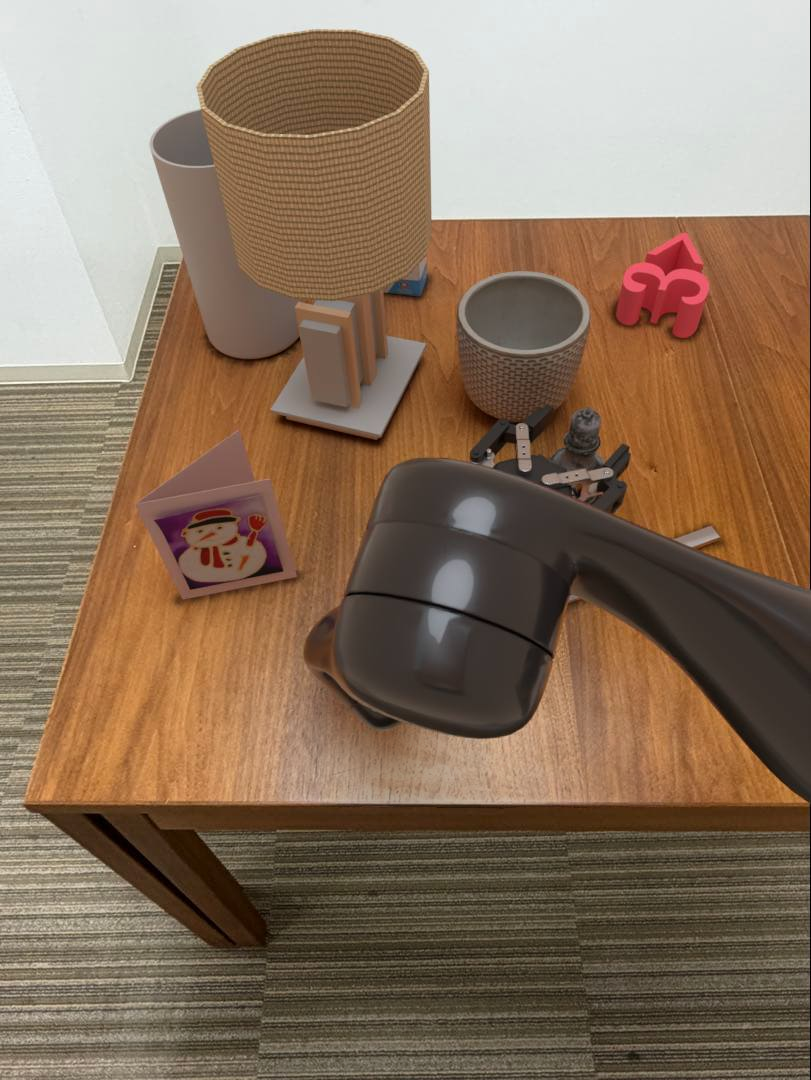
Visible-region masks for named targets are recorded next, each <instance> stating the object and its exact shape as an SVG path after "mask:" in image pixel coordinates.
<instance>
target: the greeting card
mask: <svg viewBox="0 0 811 1080" xmlns="http://www.w3.org/2000/svg"><path fill="white" fill-rule="evenodd" d="M275 494H276V493H275V491H274V487H273V484H272V481H271V478H266V479H261V480H255V476H254V474H253V470H252V467H251V463H250V460H249V456H248V454H247V449H246V446H245V443H244V440H243V436H242V434H241V430H240V428H238V429H237V430H236V431H234V432H233V433H231V434H230V435H229V436H227V437H226V438H224V440H222V441H220V442H219V443H217V445H215V446H213V447H212V448H211V449H209V450H208V451H207V452H205V453H203V455H201V456H199V457H198V458H197V459H196V460H194V461H193V462H191V463H189V464H188V465H187V466H185V467H184V468H183V469H181V470H180V471H178V472H177V473H176V474H174V475H173V476H172V477H170V478H169V479H167V480H166V481H164V482H163V483H161V484H159V486H158V487H156V488H155V489H154V490H152V491H151V492H149V493H148V494H146V495H145V496H144V497H142V498H141V499H140V500H138V501H137V502H135V503H134V506H135V508H136V510H137V512H138V514H139V516H140V519H141V520H142V522H143V524H144V526H145V528H146V530H147V532H148V534H149V536H150V538H151V540H152V542H153V544H154V545H155V548H156V550H157V552H158V554H159V556H160V558H161V560H162V561H163V564H164V565H165V568H166V570H167V571H168V574H169V576H170V577H171V579H172V582H173V583H174V585H175V587H176V589H177V592H178V594H179V595H180V598H181V599H182V600H189V599H193V598H198V597H204V596H208V595H214V594H218V593H224V592H229V591H233V590H238V589H244V588H247V587H248V588H249V587H253V586H258V585H265V584H268V583H273V582H279V581H283V580H288V579H295V578H297V577H298V575H297V572H296V568H295V564H294V560H293V557H292V553H291V550H290V545H289V542H288V539H287V535H286V532H285V528H284V524H283V520H282V517H281V512H280V509H279V506H278V502H277V498H276V495H275Z"/></svg>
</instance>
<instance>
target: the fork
mask: <svg viewBox="0 0 811 1080" xmlns="http://www.w3.org/2000/svg"><path fill="white" fill-rule="evenodd" d="M672 539H673V540H675V541H678V542H680V543H683V544H685V545H687V546H690V547H692V548H695V549H697V550H699V549H700V548H703V547H706V546H709V545H711V544H714V543H717V542H719V540H720V539H721V536H720V535H719V534H718V532H717V531H716V529H714V527H713V526H712V525H709V526H706V527H703V528H700V529H698V530H695V531H692V532H689V533H687V534H684V535H681V536H679V537H676V538H672ZM580 600H582V599H581V598H579V597H576V596H574V595H572V594H570V597H569V601H568V605H569V604H572V603H574V602H577V601H580Z"/></svg>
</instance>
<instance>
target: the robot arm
mask: <svg viewBox="0 0 811 1080" xmlns="http://www.w3.org/2000/svg"><path fill="white" fill-rule="evenodd" d="M554 413H555V410H554V408H553V407H551V406H549V405H546V406H545V407H544V408H541V407H540V408H538V409H536V410H535V411H534V412H533V413H532V414H531V415H530V416H529V417H528V418H527V419H526V420H525V421H524V422H520V423H516V424H515V423H510V422H509V421H508V420H507V419H499V418H498V419H497V420H496V422H495V423H493V425H492V427H491V428H490V429H489V430H487V432H486V433H485V434H484V435H483V436H482V437H481V439H479V441H478V442H477V443H476V444H475V445H474V446H473V448H472V449H470V451H469V461H466V460H460V459H455V458H449V457H414V458H409V459H406V460H403V461H401V462H399V463H397V464H395V465H394V466H392V467H391V468H390V470H389V471H387V473H386V474H385V476H384V478H383V480H382V482H381V484H380V486H379V488H378V490H377V493H376V496H375V499H374V502H373V505H372V507H371V511H370V514H369V517H368V519H367V523H366V527H365V531H363V535H362V537H361V541H360V544H359V546H358V550H357V553H356V556H355V558H354V563H353V565H352V568H351V571H350V574H349V577H348V580H347V582H346V585H345V589H344V591H343V598H342V599H341V602H340V604H339V605H338V606H335V607H334V608H332V609H330V610H329V611H328V612H326V613H325V614H324V615H323V616H322V617H321V618H320V619H318V620H317V621H316V623H315V624H314V625H313V627H312V628H311V629H310V631H309V632H308V634H307V637H306V639H305V641H304V645H303V650H302V651H303V652H302V656H303V661H304V664H305V665H306V668H307V669H308V670H309V671H310V672H311V674H312V675H313V676H314V677H315V678H316V679H317V680H318V681H319V682H320V683H321V684H322V685H323V686H324V687H325V688H326V689H327V690H328V691H329V692H330V693H331V694H332V695H334V696H335V698H337V699H338V700H339V701H340V702H341V703H342V705H344V706H345V707H346V708H347V709H348V710H349V711H350V712H351V713H352V714H353V715H354V716H355V717H356V718H357V719H358V720H359V721H360V722H361V723H362V724H363V725H364V726H366V727H367V728H369V729H370V730H373V731H380V732H383V731H384V732H385V731H390V730H393V729H395V728H398V727H400V726H402V725H404V724H406V725H409V726H414V727H416V728H419V729H423V730H427V731H429V732H435V733H439V734H442V735H446V736H451V737H455V738H456V737H457V738H463V739H464V738H465V739H472V740H491V739H492V740H493V739H501V738H504V737H508V736H511V735H514V734H515V733H516V732H519V731H520V730H522V729H523V728H525V727H526V726H527V725H528V724H529V723H530V722H531V721H532V719H533V717H534V716H535V714H536V712H537V710H538V708H539V706H540V703H541V701H542V699H543V696H544V693H545V691H546V688H547V685H548V681H549V678H550V674H551V671H552V668H553V665H554V661H553V659H555V657H556V654H557V653H556V652H557V648H558V645H559V640H560V638H561V637H560V636H561V632H562V628H563V624H564V621H565V617H566V614H567V608H568V605H569V604H568V601H569V597H570V595H574V596H576V597H579V598H581V599H580V600H582V601H585V602H587V603H589V604H591V605H593V606H595V607H597V608H599V609H601V610H602V611H604V612H605V613H607V614H609V615H610V616H613V617H614V618H616V619H617V620H619V621H621V622H622V623H624V624H626V625H627V626H629V627H630V628H632V629H633V630H635V631H637V632H638V633H639V634H640V635H642V636H643V637H644V638H646V639H647V640H648V641H650V642H651V643H652V644H653V645H654V646H655V647H656V648H658V649H659V650H660V651H661V652H662V653H664V654H665V655H666V656H667V657H668V658H669V659H670V660H671V661H672V662H673V663H675V665H676V666H677V667H679V668H680V669H681V671H682V672H683V673H684V674H685V676H687V678H688V679H689V680H690V681H691V682H692V683H693V684H694V685H695V686H696V687H697V688H698V690H699V691H700V692H701V693H702V694H703V696H704V697H705V698H706V700H707V701H709V703H710V704H711V706H713V708H714V709H715V710H716V712H718V714H719V715H720V716H721V717H722V718H723V720H724V721H725V722H726V723H727V725H728V726H729V727H730V728H731V729H732V730H733V732H734V733H735V734H736V735H737V736H738V737H739V739H740V740H741V741H742V742H743V743H744V744H745V746H746V747H748V749H749V750H750V751H751V752H752V753H753V755H755V756H756V757H757V758H758V760H759V761H760V762H761V763H762V764H763V765H764V767H765V768H767V769H768V770H769V771H770V773H771V774H773V775H774V776H775V777H776V779H778V780H779V781H780V782H781V783H782V784H783V785H784V786H786V787H787V788H788V789H789V790H790V791H791V792H792V793H794V794H795V795H797V796H798V797H800V798H801V799H802V800H804V802H807V803H808V804H810V805H811V589H809V588H805V587H803V586H799V585H796V584H793V583H790V582H787V581H784V580H781V579H778V578H775V577H772V576H769V575H766V574H764V573H761V572H758V571H754V570H752V569H749V568H746V567H743V566H740V565H737V564H735V563H732V562H729V561H727V560H724V559H723V558H719V557H717V556H714V555H712V554H709V553H707V552H704V551H702V550H699V549H695V548H692V547H690V546H687V545H685V544H683V543H680V542H678V541H675V540H673V539H674V538H670V537H668V536H666V535H663V534H661V533H659V532H656V531H654V530H652V529H649V528H647V527H644V526H642V525H640V524H638V523H635V522H632V521H631V520H628V519H626V518H624V517H621V516H619V515H616V514H615V513H616V512H617V511H618V510H619V508H620V507H622V505H623V503H624V499H625V496H626V492H627V489H628V484H627V483H626V482H625V481H623V480H619V478H620V477H621V476H622V474H623V473H624V472H625V471H626V470H627V469H628V467H629V464H630V460H631V456H632V453H631V452H629V451H630V446H629V445H628V444H625V443H621V444H620V446H618V447H617V448H616V450H614V452H613V453H612V455H610V457H608V459H607V460H606V461H604V462H605V463H604V465H603V468H600V469H595V470H590V471H587V470H586V469H579V470H574V471H569V472H567V469H566V468H565V467H563V466H561V465H558V464H555V463H552V462H551V461H549V458H547V457H546V456H544V455H543V454H541V453H539V454H537V455H535V454H532V453H531V444H532V443H533V442H534V441H535V440H536V439H538V437H539V436H540V435H541V434H542V433H544V431H545V430H546V429H547V428H548V427H549V426H550V425H551V423H552V421H554V420H553V419H554ZM507 443H508V444H513V449H514V458H510V459H506V460H502V461H499V462H497V463H495V461H496V456H497V455H498V453H500V451H501V450H502V449H503V448H504V447H505V445H506V444H507ZM574 484H576V487H575V489H573V490H572V487H571V485H574ZM592 496H597V497H598V496H599V497H598V498H596V499H595V500H594V501H593V502H592V503H591V504H588V503H586V502H583V501H585V500H586V499H587V498H589V497H592Z"/></svg>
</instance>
